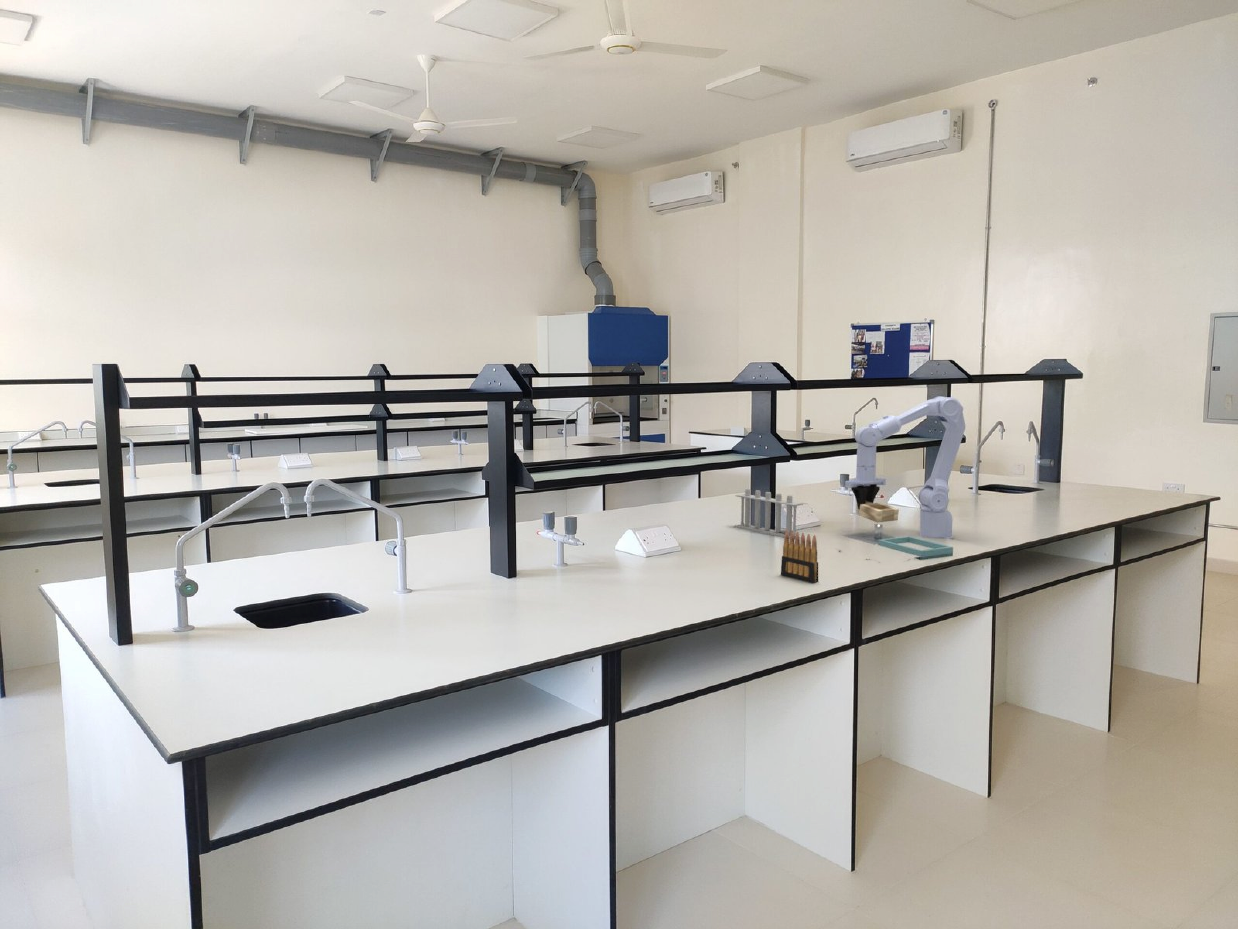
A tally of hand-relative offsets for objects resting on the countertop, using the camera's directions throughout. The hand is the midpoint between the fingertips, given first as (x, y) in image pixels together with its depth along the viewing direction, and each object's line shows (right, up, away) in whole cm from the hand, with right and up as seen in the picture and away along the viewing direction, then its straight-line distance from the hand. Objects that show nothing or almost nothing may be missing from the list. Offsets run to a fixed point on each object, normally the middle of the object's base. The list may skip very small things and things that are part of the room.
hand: (864, 509), depth 263 cm
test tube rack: (-28, -8, +11) cm, 31 cm away
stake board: (+2, -10, -3) cm, 10 cm away
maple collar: (+2, -2, -3) cm, 4 cm away
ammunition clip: (-31, -15, -48) cm, 59 cm away
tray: (+9, -11, -18) cm, 23 cm away
